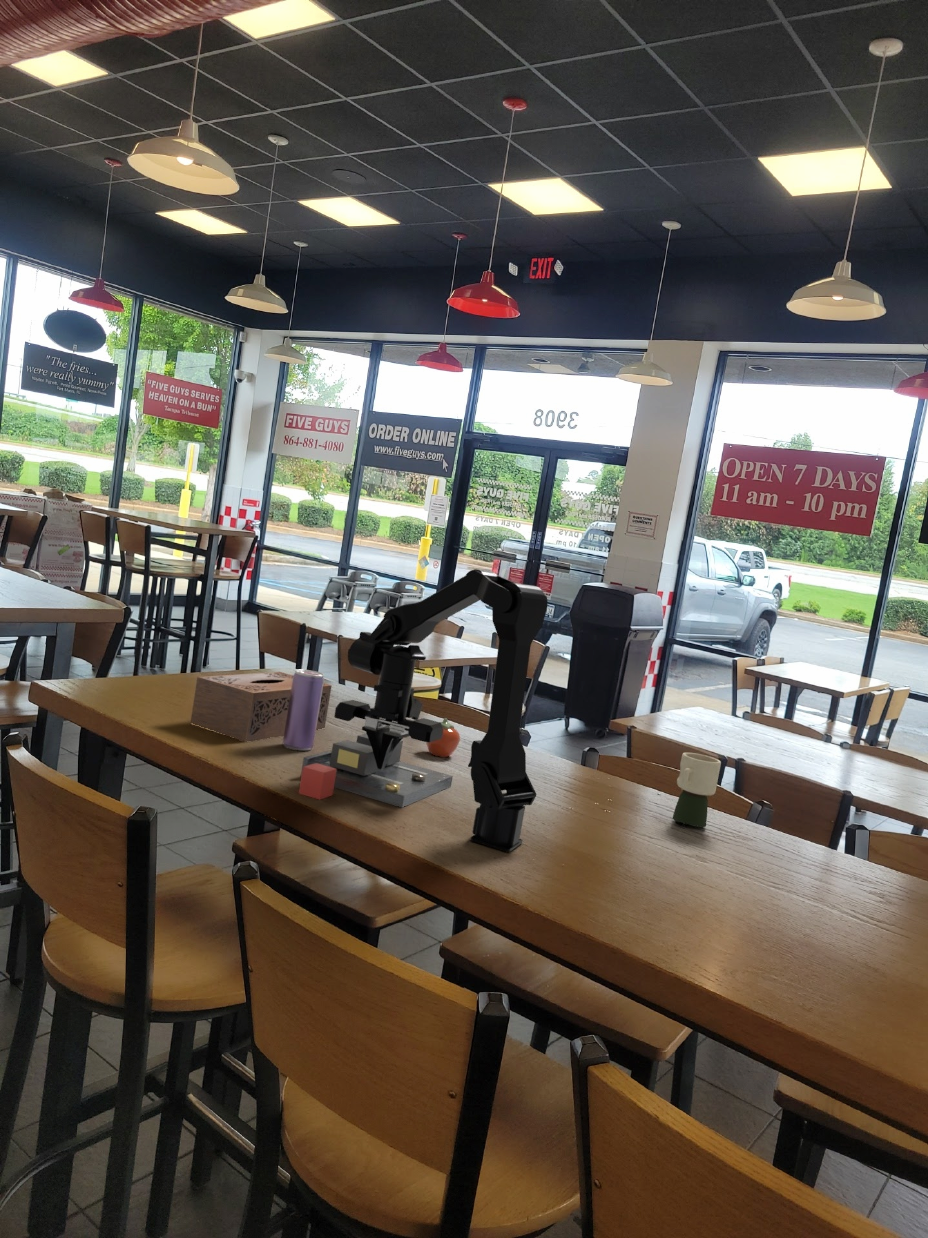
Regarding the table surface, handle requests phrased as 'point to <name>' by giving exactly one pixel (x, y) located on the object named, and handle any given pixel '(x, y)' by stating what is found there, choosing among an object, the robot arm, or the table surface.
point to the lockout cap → (317, 781)
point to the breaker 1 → (353, 757)
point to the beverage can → (303, 710)
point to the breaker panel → (387, 781)
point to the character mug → (696, 788)
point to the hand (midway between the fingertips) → (380, 768)
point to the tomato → (445, 741)
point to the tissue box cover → (248, 704)
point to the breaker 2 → (395, 755)
